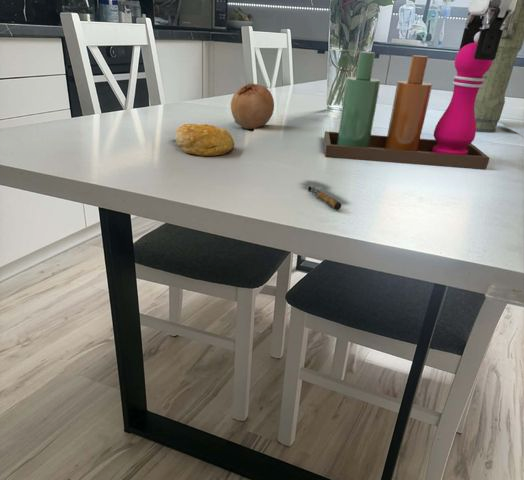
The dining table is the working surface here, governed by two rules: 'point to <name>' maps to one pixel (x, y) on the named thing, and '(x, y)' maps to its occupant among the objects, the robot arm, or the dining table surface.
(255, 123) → the onion
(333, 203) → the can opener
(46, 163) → the dining table surface
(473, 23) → the robot arm
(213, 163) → the dining table surface
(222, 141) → the bread roll
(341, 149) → the tray
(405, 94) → the amber bottle
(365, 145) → the green bottle
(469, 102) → the pepper mill
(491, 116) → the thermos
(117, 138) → the dining table surface
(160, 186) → the dining table surface
